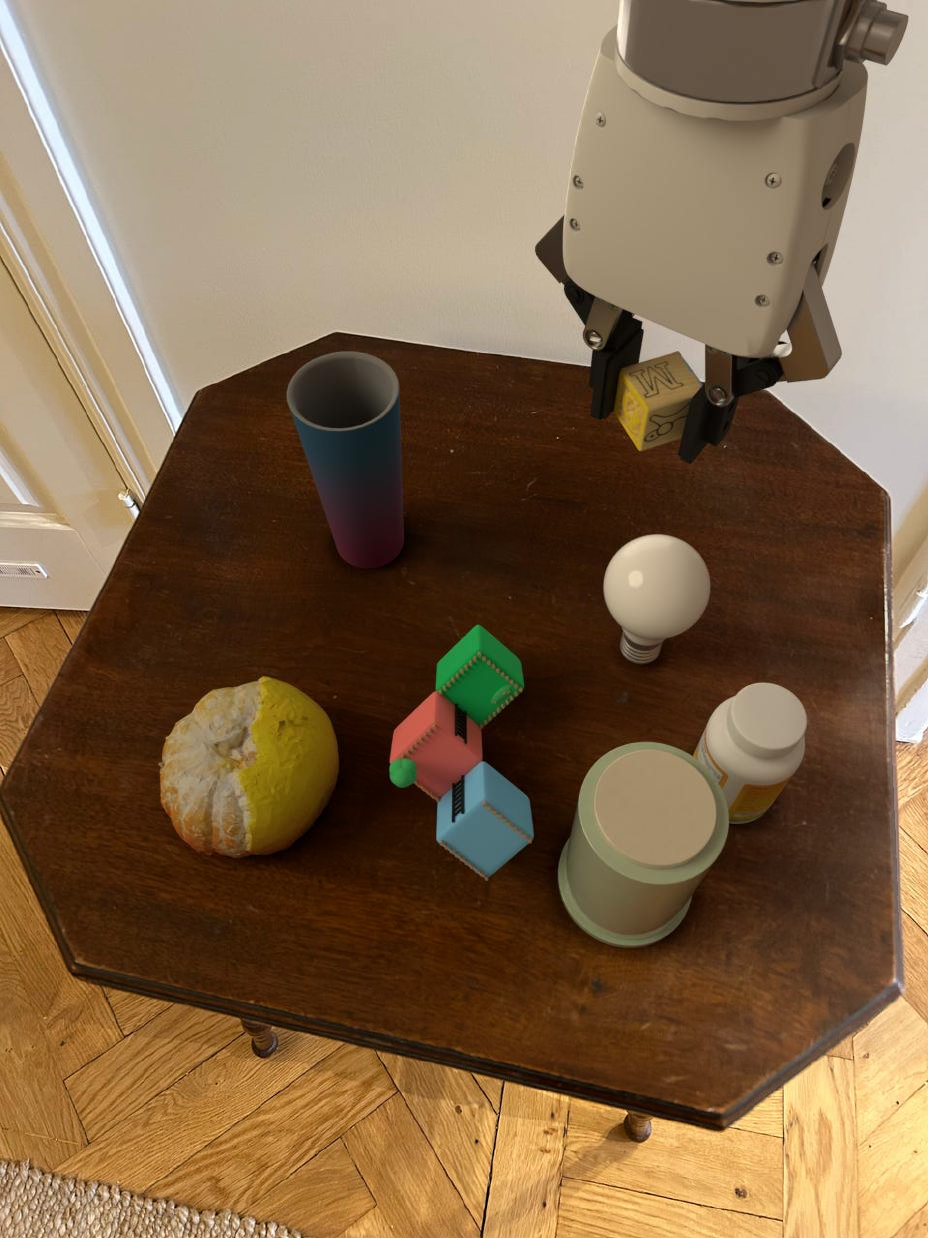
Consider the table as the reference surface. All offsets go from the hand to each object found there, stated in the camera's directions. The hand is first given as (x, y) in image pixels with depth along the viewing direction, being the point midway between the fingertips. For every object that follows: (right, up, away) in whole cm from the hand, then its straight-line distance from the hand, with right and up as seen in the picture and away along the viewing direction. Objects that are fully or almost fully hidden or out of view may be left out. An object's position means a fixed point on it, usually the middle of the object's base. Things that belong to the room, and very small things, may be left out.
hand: (655, 419), depth 44 cm
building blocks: (-8, -19, +13) cm, 25 cm away
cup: (-16, -4, +23) cm, 28 cm away
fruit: (-22, -20, +13) cm, 33 cm away
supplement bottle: (+7, -20, +12) cm, 25 cm away
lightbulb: (+3, -12, +17) cm, 21 cm away
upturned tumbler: (0, -25, +9) cm, 27 cm away
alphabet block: (0, 0, 0) cm, 1 cm away
